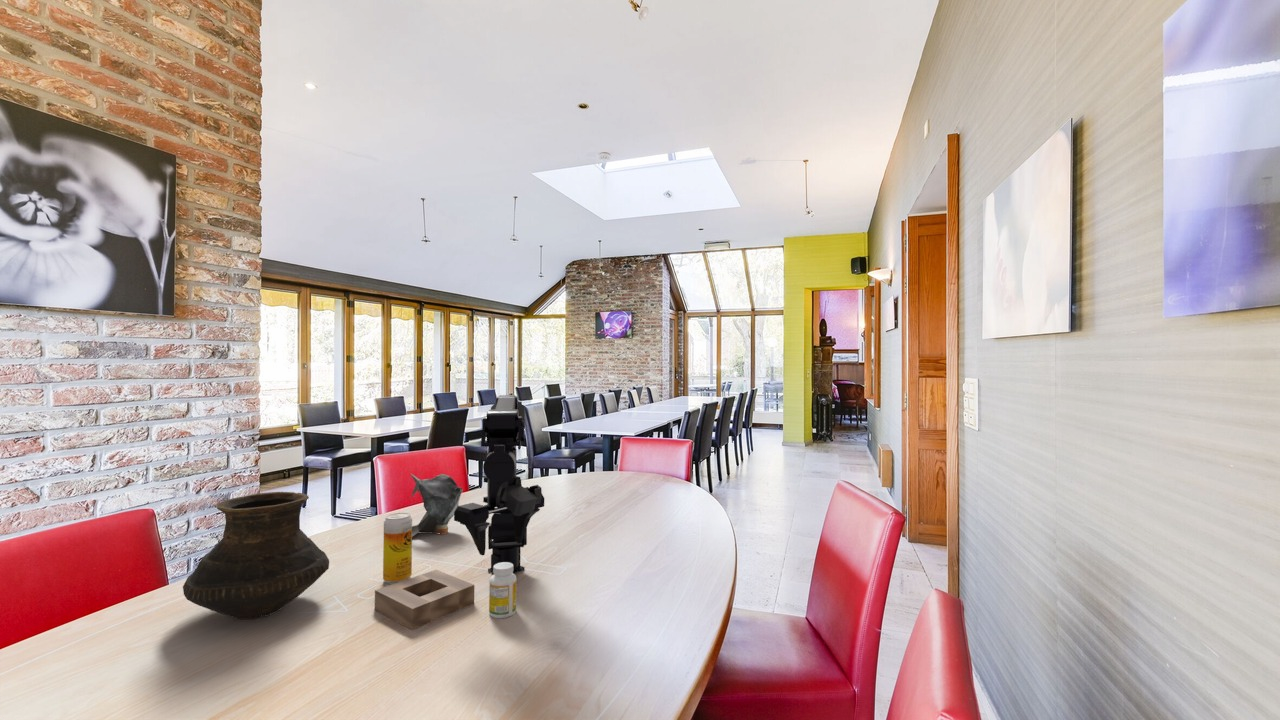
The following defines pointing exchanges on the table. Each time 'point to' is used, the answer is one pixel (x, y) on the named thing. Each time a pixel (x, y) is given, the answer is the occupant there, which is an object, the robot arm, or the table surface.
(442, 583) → the socket block
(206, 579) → the ceramic pot
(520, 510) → the robot arm
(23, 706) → the table surface
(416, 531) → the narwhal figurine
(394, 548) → the beer can
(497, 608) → the supplement bottle
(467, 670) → the table surface
